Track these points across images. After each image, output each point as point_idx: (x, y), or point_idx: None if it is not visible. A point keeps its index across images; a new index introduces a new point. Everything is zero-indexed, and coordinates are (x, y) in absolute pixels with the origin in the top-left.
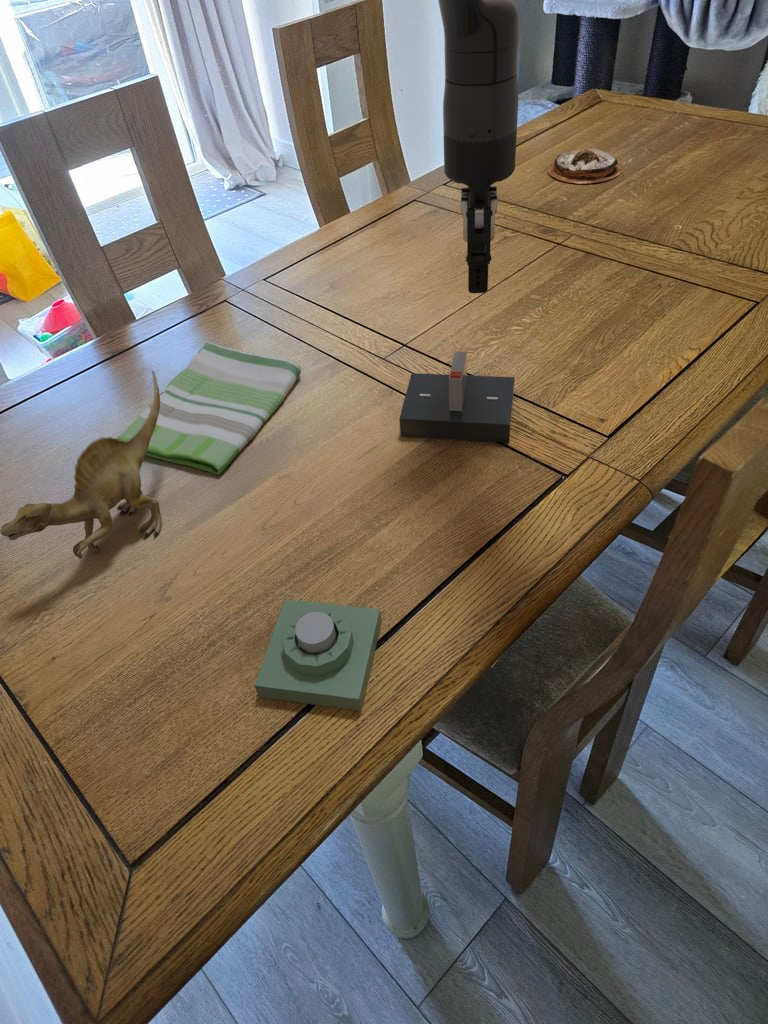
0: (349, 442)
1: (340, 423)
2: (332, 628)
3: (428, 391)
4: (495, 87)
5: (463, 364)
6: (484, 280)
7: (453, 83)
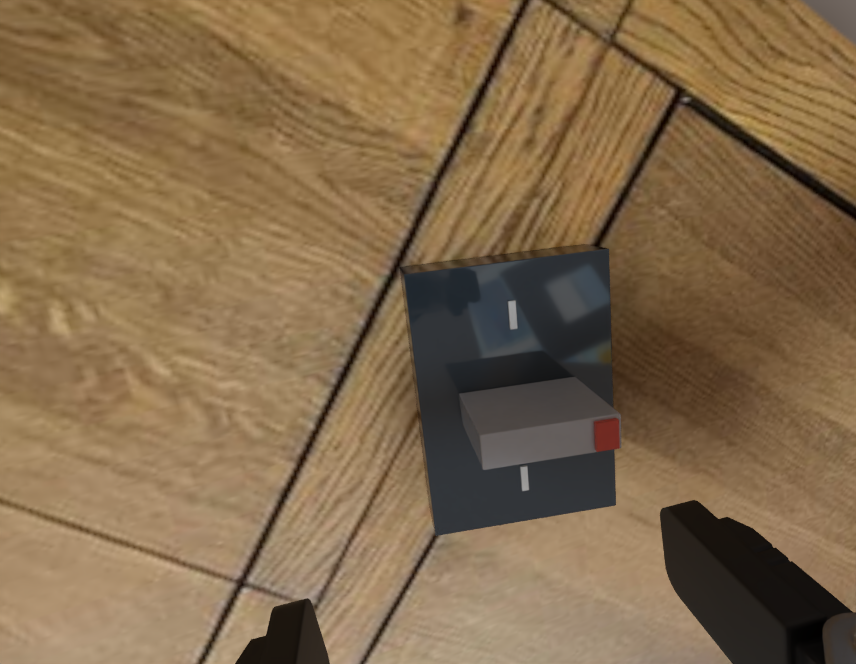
0: (622, 566)
1: (566, 604)
2: None
3: (504, 474)
4: None
5: (548, 427)
6: (782, 553)
7: None
